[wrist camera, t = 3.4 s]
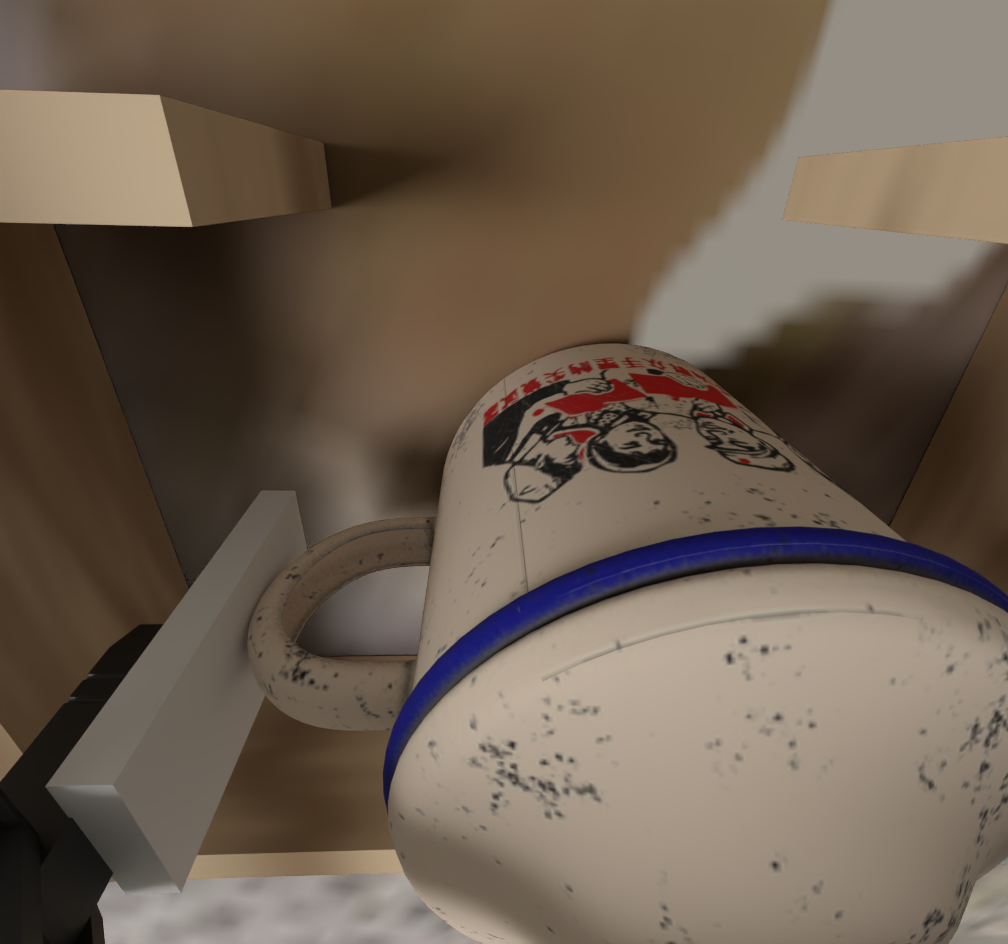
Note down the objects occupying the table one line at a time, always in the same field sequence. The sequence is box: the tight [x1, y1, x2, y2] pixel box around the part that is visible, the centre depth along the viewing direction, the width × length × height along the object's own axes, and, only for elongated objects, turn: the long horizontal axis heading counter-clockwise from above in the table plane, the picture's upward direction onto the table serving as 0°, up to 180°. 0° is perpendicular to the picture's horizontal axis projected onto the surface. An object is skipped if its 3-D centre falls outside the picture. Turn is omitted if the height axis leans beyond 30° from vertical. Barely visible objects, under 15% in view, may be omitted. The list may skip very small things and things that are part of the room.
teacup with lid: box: [247, 344, 1008, 944], centre depth 9 cm, size 12×9×12 cm
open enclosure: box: [0, 90, 1008, 882], centre depth 12 cm, size 24×16×6 cm
